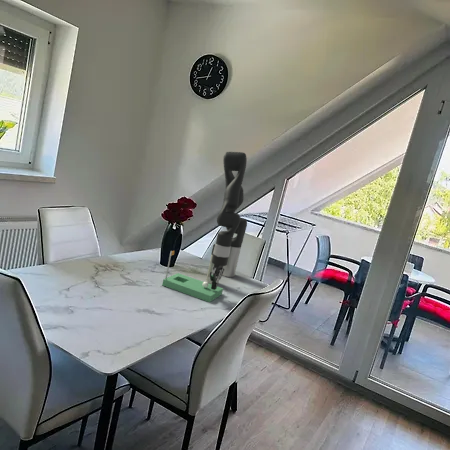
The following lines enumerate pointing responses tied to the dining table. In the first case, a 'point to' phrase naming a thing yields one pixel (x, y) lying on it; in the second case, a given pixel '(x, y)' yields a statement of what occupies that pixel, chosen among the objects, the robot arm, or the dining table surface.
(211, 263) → the spray can
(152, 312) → the dining table surface
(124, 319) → the dining table surface
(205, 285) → the ball
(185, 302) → the dining table surface
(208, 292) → the putting green
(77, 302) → the dining table surface
